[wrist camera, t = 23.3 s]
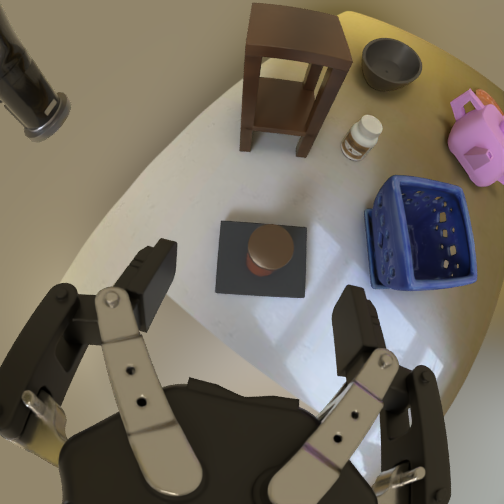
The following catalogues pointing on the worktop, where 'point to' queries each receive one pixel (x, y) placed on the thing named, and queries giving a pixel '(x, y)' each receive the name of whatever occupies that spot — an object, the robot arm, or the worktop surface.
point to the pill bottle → (361, 137)
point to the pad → (242, 279)
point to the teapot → (478, 140)
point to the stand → (284, 91)
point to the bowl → (390, 64)
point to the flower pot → (419, 236)
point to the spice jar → (269, 249)
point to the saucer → (487, 99)
